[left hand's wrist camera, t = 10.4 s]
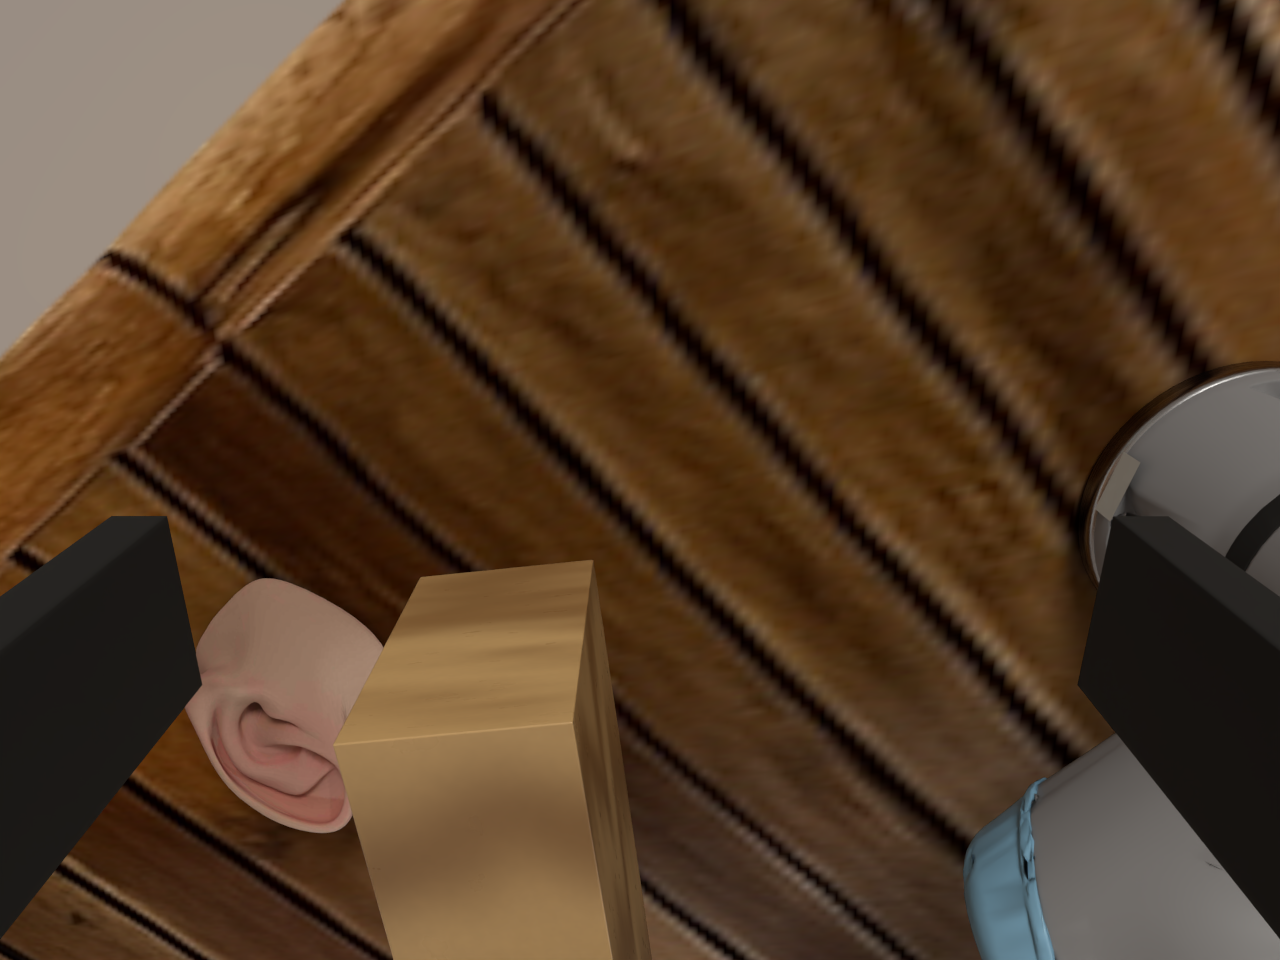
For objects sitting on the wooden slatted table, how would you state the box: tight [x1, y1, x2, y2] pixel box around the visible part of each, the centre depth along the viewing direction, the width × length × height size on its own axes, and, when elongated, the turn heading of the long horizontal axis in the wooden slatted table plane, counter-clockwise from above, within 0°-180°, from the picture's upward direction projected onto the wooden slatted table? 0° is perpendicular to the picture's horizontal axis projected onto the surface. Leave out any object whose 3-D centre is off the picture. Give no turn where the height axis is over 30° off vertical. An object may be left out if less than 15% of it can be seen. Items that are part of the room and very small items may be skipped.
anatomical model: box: [185, 578, 383, 833], centre depth 48 cm, size 13×4×12 cm
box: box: [333, 560, 652, 960], centre depth 31 cm, size 21×6×10 cm, turn 6°
